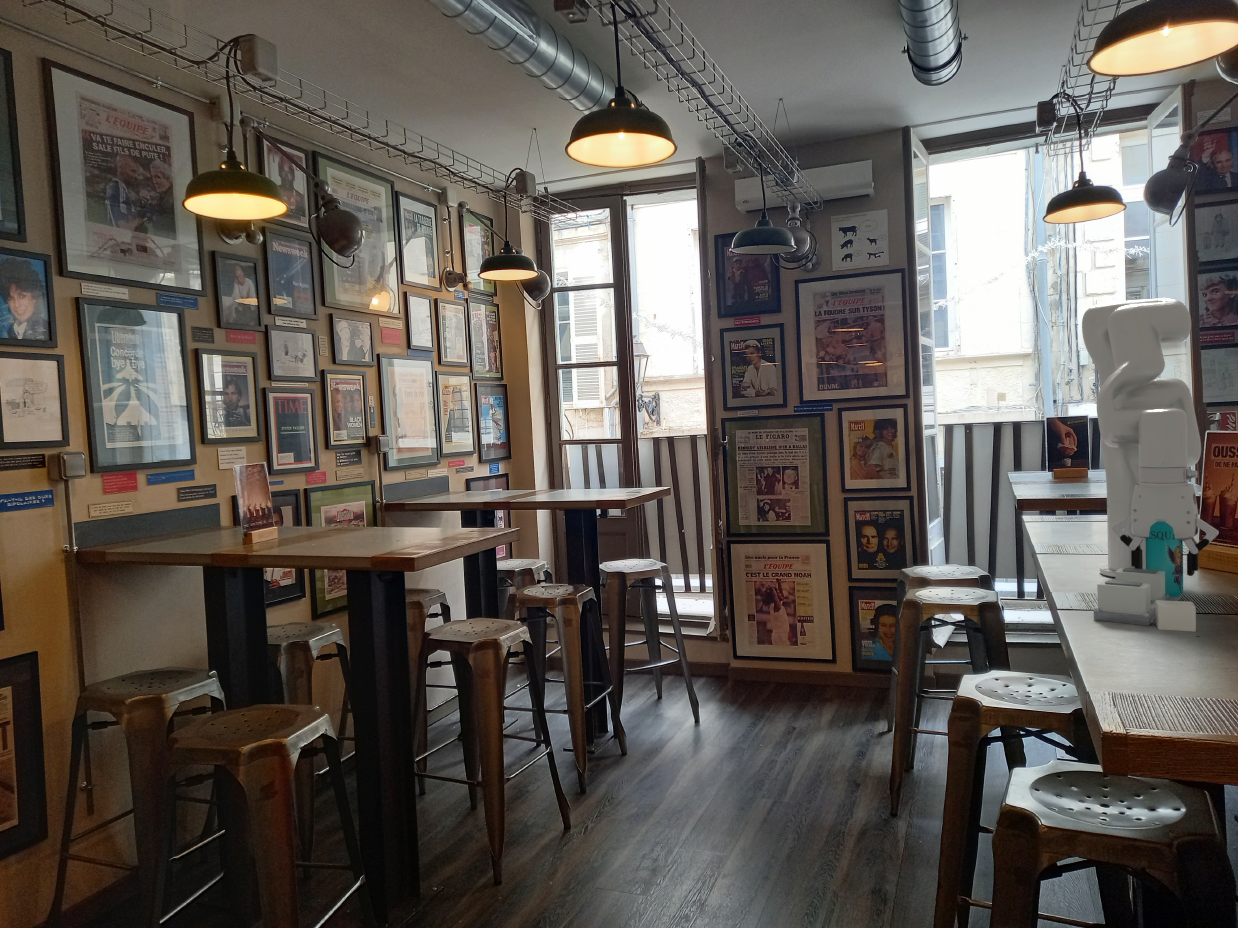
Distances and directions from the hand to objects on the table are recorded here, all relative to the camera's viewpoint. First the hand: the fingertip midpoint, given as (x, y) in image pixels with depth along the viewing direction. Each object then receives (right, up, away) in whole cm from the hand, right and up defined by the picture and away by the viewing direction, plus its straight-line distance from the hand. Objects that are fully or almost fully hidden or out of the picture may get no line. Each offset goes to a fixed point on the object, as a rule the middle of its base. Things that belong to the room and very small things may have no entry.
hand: (1164, 572), depth 158 cm
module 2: (-7, -4, -4) cm, 9 cm away
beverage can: (0, -5, 0) cm, 5 cm away
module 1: (-15, -5, -13) cm, 21 cm away
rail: (-11, -6, -9) cm, 15 cm away
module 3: (-11, -6, -20) cm, 23 cm away
